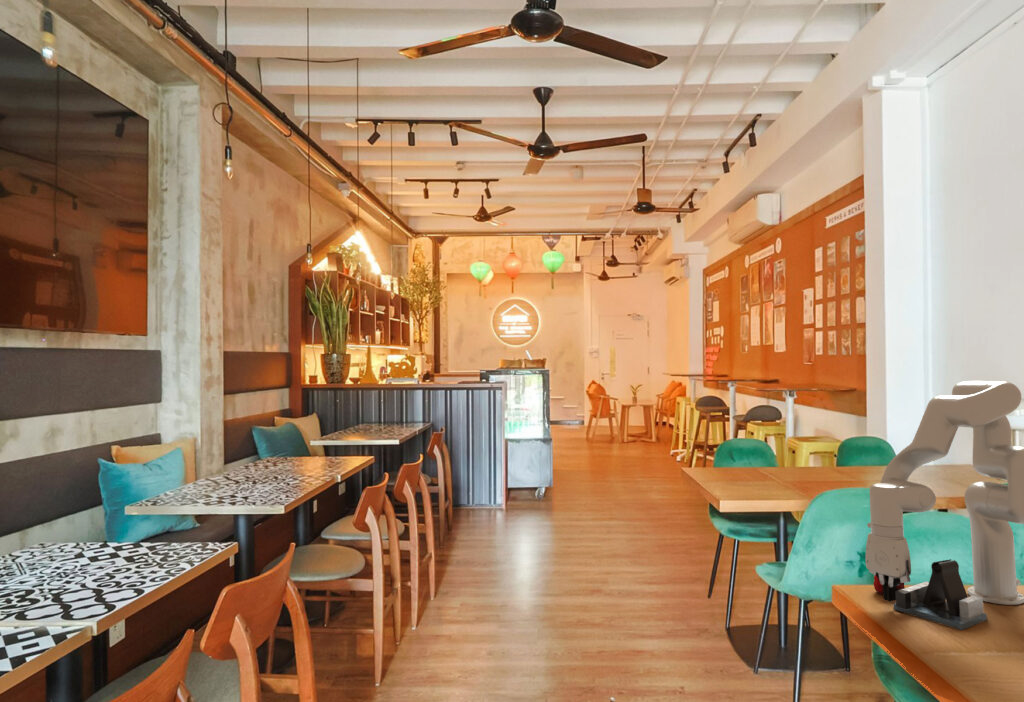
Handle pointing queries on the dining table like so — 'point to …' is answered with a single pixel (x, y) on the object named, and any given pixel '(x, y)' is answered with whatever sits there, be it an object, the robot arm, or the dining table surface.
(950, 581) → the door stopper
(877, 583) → the red clay folk toy
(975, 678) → the dining table surface
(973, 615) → the dark grey base plate
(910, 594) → the block
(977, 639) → the dining table surface
